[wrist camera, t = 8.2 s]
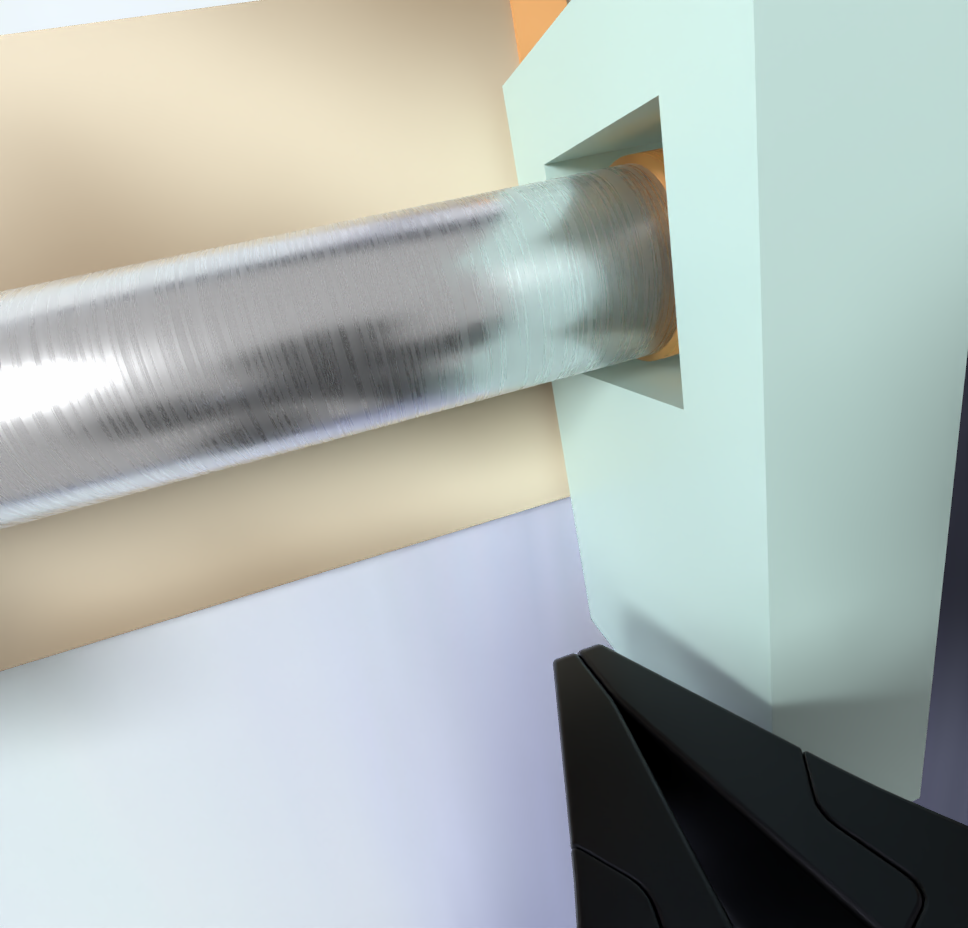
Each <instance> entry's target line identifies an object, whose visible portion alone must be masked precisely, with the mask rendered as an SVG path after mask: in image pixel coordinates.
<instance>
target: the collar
mask: <svg viewBox="0 0 968 928" xmlns="http://www.w3.org/2000/svg"><path fill="white" fill-rule="evenodd" d="M502 88H503V94H504V100H505V106H506V112H507V118H508V124H509V130H510V136H511V142H512V148H513V154H514V160H515V166H516V172H517V178H518V184H519V186H520V185H525V184H529V183H534V182H539V181H544V180H549V179H554V178H559V177H564V176H569V175H574V174H579V173H583V172H588V171H593V170H598V169H603V168H608V167H609V166H610V165H611V164H612V163H613V162H614V161H616V160H617V159H619V158H620V157H622V156H626V155H629V154H634V153H639V152H644V151H649V150H654V149H659V148H663V156H664V168H665V181H666V193H667V206H668V218H669V231H670V243H671V256H672V268H673V280H674V293H675V305H676V318H677V330H678V343H679V354H678V355H674V356H670V357H667V358H663V359H659V360H656V361H642V360H639V359H633V360H629V361H625V362H622V363H618V364H614V365H610V366H607V367H603V368H599V369H596V370H592V371H588V372H584V373H581V374H577V375H573V376H570V377H566V378H562V379H558V380H555V381H551V382H552V388H553V394H554V400H555V406H556V412H557V418H558V424H559V430H560V436H561V442H562V448H563V454H564V460H565V466H566V472H567V478H568V484H569V490H570V496H571V502H572V508H573V514H574V520H575V526H576V532H577V538H578V544H579V550H580V556H581V562H582V568H583V574H584V580H585V586H586V592H587V598H588V604H589V610H590V616H591V620H592V621H593V622H594V624H595V625H596V626H597V628H598V629H599V630H600V631H601V633H602V634H603V635H604V637H605V638H606V639H607V641H608V642H609V643H610V645H611V646H612V647H613V649H614V650H615V651H616V652H617V653H619V654H621V655H623V656H625V657H627V658H629V659H630V660H632V661H634V662H636V663H638V664H640V665H642V666H644V667H646V668H648V669H650V670H652V671H654V672H655V673H657V674H659V675H661V676H663V677H665V678H667V679H669V680H671V681H673V682H675V683H677V684H679V685H681V686H682V687H684V688H686V689H688V690H690V691H692V692H694V693H696V694H698V695H700V696H702V697H704V698H706V699H707V700H709V701H711V702H713V703H715V704H717V705H719V706H721V707H723V708H725V709H727V710H729V711H731V712H733V713H734V714H736V715H738V716H740V717H742V718H744V719H746V720H748V721H750V722H752V723H754V724H756V725H758V726H760V727H761V728H763V729H765V730H767V731H769V732H771V733H773V734H775V735H777V736H779V737H781V738H783V739H785V740H786V741H788V742H790V743H792V744H794V745H796V746H798V747H800V748H801V750H802V753H803V752H804V751H808V752H810V753H812V754H814V755H816V756H818V757H820V758H822V759H824V760H825V761H827V762H829V763H831V764H833V765H835V766H837V767H839V768H841V769H843V770H845V771H847V772H849V773H851V774H853V775H855V776H857V777H859V778H862V779H864V780H866V781H868V782H870V783H872V784H874V785H876V786H878V787H880V788H882V789H884V790H887V791H889V792H891V793H893V794H896V795H898V796H900V797H902V798H904V799H907V800H909V801H911V802H912V801H914V800H916V799H918V798H920V790H921V781H922V772H923V762H924V753H925V744H926V734H927V725H928V716H929V706H930V697H931V688H932V678H933V669H934V660H935V650H936V641H937V632H938V623H939V613H940V604H941V595H942V585H943V576H944V567H945V557H946V548H947V539H948V529H949V520H950V511H951V501H952V492H953V483H954V473H955V464H956V455H957V446H958V436H959V427H960V418H961V408H962V399H963V390H964V380H965V371H966V362H967V352H968V0H571V1H570V2H569V3H568V5H567V6H566V7H565V8H564V10H563V11H562V12H561V13H560V15H559V16H558V17H557V18H556V20H555V21H554V22H553V23H552V25H551V26H550V27H549V28H548V30H547V31H546V32H545V33H544V35H543V36H542V37H541V38H540V40H539V41H538V42H537V43H536V45H535V46H534V47H533V48H532V50H531V51H530V52H529V53H528V55H527V56H526V57H525V58H524V60H523V61H522V62H521V63H520V65H519V66H518V67H517V68H516V70H515V71H514V72H513V73H512V75H511V76H510V77H509V78H508V80H507V81H506V82H505V83H504V85H503V86H502Z"/></svg>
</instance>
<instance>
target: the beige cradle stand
mask: <svg viewBox="0 0 968 928" xmlns="http://www.w3.org/2000/svg"><path fill="white" fill-rule="evenodd" d="M570 1H571V0H259V1H252V2H244V3H237V4H229V5H222V6H215V7H207V8H200V9H192V10H185V11H177V12H170V13H162V14H155V15H148V16H140V17H133V18H125V19H118V20H110V21H103V22H96V23H88V24H81V25H73V26H66V27H58V28H51V29H43V30H36V31H29V32H21V33H14V34H6V35H0V291H5V290H10V289H15V288H20V287H25V286H29V285H34V284H39V283H44V282H49V281H54V280H59V279H64V278H69V277H74V276H78V275H83V274H88V273H93V272H98V271H103V270H108V269H113V268H118V267H123V266H127V265H132V264H137V263H142V262H147V261H152V260H157V259H162V258H167V257H172V256H177V255H181V254H186V253H191V252H196V251H201V250H206V249H211V248H216V247H221V246H226V245H230V244H235V243H240V242H245V241H250V240H255V239H260V238H265V237H270V236H275V235H279V234H284V233H289V232H294V231H299V230H304V229H309V228H314V227H319V226H324V225H328V224H333V223H338V222H343V221H348V220H353V219H358V218H363V217H368V216H373V215H378V214H382V213H387V212H392V211H397V210H402V209H407V208H412V207H417V206H422V205H427V204H431V203H436V202H441V201H446V200H451V199H456V198H461V197H466V196H471V195H476V194H480V193H485V192H490V191H495V190H500V189H505V188H510V187H515V186H519V184H518V178H517V172H516V166H515V160H514V154H513V148H512V142H511V136H510V130H509V124H508V118H507V112H506V106H505V100H504V94H503V88H502V86H503V85H504V83H505V82H506V81H507V80H508V78H509V77H510V76H511V75H512V73H513V72H514V71H515V70H516V68H517V67H518V66H519V65H520V63H521V62H522V61H523V60H524V58H525V57H526V56H527V55H528V53H529V52H530V51H531V50H532V48H533V47H534V46H535V45H536V43H537V42H538V41H539V40H540V38H541V37H542V36H543V35H544V33H545V32H546V31H547V30H548V28H549V27H550V26H551V25H552V23H553V22H554V21H555V20H556V18H557V17H558V16H559V15H560V13H561V12H562V11H563V10H564V8H565V7H566V6H567V5H568V3H569V2H570ZM569 496H570V490H569V484H568V478H567V472H566V466H565V460H564V454H563V448H562V442H561V436H560V430H559V424H558V418H557V412H556V406H555V400H554V394H553V388H552V382H547V383H543V384H540V385H536V386H532V387H529V388H525V389H521V390H517V391H514V392H510V393H506V394H503V395H499V396H495V397H491V398H488V399H484V400H480V401H476V402H473V403H469V404H465V405H462V406H458V407H454V408H450V409H447V410H443V411H439V412H436V413H432V414H428V415H424V416H421V417H417V418H413V419H409V420H406V421H402V422H398V423H395V424H391V425H387V426H383V427H380V428H376V429H372V430H368V431H365V432H361V433H357V434H354V435H350V436H346V437H342V438H339V439H335V440H331V441H328V442H324V443H320V444H316V445H313V446H309V447H305V448H301V449H298V450H294V451H290V452H287V453H283V454H279V455H275V456H272V457H268V458H264V459H261V460H257V461H253V462H249V463H246V464H242V465H238V466H234V467H231V468H227V469H223V470H220V471H216V472H212V473H208V474H205V475H201V476H197V477H194V478H190V479H186V480H182V481H179V482H175V483H171V484H167V485H164V486H160V487H156V488H153V489H149V490H145V491H141V492H138V493H134V494H130V495H127V496H123V497H119V498H115V499H112V500H108V501H104V502H100V503H97V504H93V505H89V506H86V507H82V508H78V509H74V510H71V511H67V512H63V513H59V514H56V515H52V516H48V517H45V518H41V519H37V520H33V521H30V522H26V523H22V524H19V525H15V526H11V527H7V528H4V529H0V671H3V670H6V669H10V668H13V667H16V666H19V665H23V664H26V663H29V662H32V661H36V660H39V659H42V658H45V657H49V656H52V655H55V654H58V653H62V652H65V651H68V650H71V649H75V648H78V647H81V646H84V645H88V644H91V643H94V642H97V641H101V640H104V639H107V638H110V637H114V636H117V635H120V634H123V633H127V632H130V631H133V630H136V629H140V628H143V627H146V626H150V625H153V624H156V623H159V622H163V621H166V620H169V619H172V618H176V617H179V616H182V615H185V614H189V613H192V612H195V611H198V610H202V609H205V608H208V607H211V606H215V605H218V604H221V603H224V602H228V601H231V600H234V599H237V598H241V597H244V596H247V595H250V594H254V593H257V592H260V591H263V590H267V589H270V588H273V587H276V586H280V585H283V584H286V583H290V582H293V581H296V580H299V579H303V578H306V577H309V576H312V575H316V574H319V573H322V572H325V571H329V570H332V569H335V568H338V567H342V566H345V565H348V564H351V563H355V562H358V561H361V560H364V559H368V558H371V557H374V556H377V555H381V554H384V553H387V552H390V551H394V550H397V549H400V548H403V547H407V546H410V545H413V544H416V543H420V542H423V541H426V540H430V539H433V538H436V537H439V536H443V535H446V534H449V533H452V532H456V531H459V530H462V529H465V528H469V527H472V526H475V525H478V524H482V523H485V522H488V521H491V520H495V519H498V518H501V517H504V516H508V515H511V514H514V513H517V512H521V511H524V510H527V509H530V508H534V507H537V506H540V505H543V504H547V503H550V502H553V501H556V500H560V499H563V498H566V497H569Z"/></svg>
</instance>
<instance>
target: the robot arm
mask: <svg viewBox="0 0 968 928" xmlns="http://www.w3.org/2000/svg"><path fill="white" fill-rule="evenodd" d="M553 669H554V679H555V689H556V699H557V710H558V720H559V730H560V741H561V751H562V761H563V771H564V782H565V792H566V802H567V812H568V823H569V833H570V843H571V849H572V852H571V857H572V867H573V877H574V891H575V907H576V923H577V928H968V826H966V825H964V824H962V823H959V822H957V821H955V820H952V819H950V818H948V817H945V816H943V815H941V814H938V813H936V812H934V811H931V810H929V809H927V808H925V807H922V806H920V805H918V804H916V803H913V802H911V801H909V800H907V799H904V798H902V797H900V796H898V795H896V794H893V793H891V792H889V791H887V790H884V789H882V788H880V787H878V786H876V785H874V784H872V783H870V782H868V781H866V780H864V779H862V778H859V777H857V776H855V775H853V774H851V773H849V772H847V771H845V770H843V769H841V768H839V767H837V766H835V765H833V764H831V763H829V762H827V761H825V760H824V759H822V758H820V757H818V756H816V755H814V754H812V753H810V752H808V751H804V752H803V753H802V750H801V748H800V747H798V746H796V745H794V744H792V743H790V742H788V741H786V740H785V739H783V738H781V737H779V736H777V735H775V734H773V733H771V732H769V731H767V730H765V729H763V728H761V727H760V726H758V725H756V724H754V723H752V722H750V721H748V720H746V719H744V718H742V717H740V716H738V715H736V714H734V713H733V712H731V711H729V710H727V709H725V708H723V707H721V706H719V705H717V704H715V703H713V702H711V701H709V700H707V699H706V698H704V697H702V696H700V695H698V694H696V693H694V692H692V691H690V690H688V689H686V688H684V687H682V686H681V685H679V684H677V683H675V682H673V681H671V680H669V679H667V678H665V677H663V676H661V675H659V674H657V673H655V672H654V671H652V670H650V669H648V668H646V667H644V666H642V665H640V664H638V663H636V662H634V661H632V660H630V659H629V658H627V657H625V656H623V655H621V654H619V653H617V652H615V651H613V650H611V649H609V648H607V647H605V646H603V645H600V644H598V645H594V646H592V647H589V648H586V649H583V650H581V651H579V653H578V654H574V653H572V654H569V655H566V656H564V657H561V658H558V659H556V660H554V662H553Z"/></svg>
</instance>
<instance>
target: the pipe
mask: <svg viewBox="0 0 968 928" xmlns="http://www.w3.org/2000/svg"><path fill="white" fill-rule="evenodd" d="M678 354H679V343H678V330H677V318H676V305H675V293H674V280H673V268H672V256H671V243H670V231H669V218H668V206H667V193H666V181H665V168H664V156H663V148H659V149H654V150H649V151H644V152H639V153H634V154H629V155H626V156H622V157H620V158H619V159H617V160H616V161H614V162H613V163H612V164H611V165H610V166H609V167H608V168H603V169H598V170H593V171H588V172H583V173H579V174H574V175H569V176H564V177H559V178H554V179H549V180H544V181H539V182H534V183H529V184H525V185H520V186H515V187H510V188H505V189H500V190H495V191H490V192H485V193H480V194H476V195H471V196H466V197H461V198H456V199H451V200H446V201H441V202H436V203H431V204H427V205H422V206H417V207H412V208H407V209H402V210H397V211H392V212H387V213H382V214H378V215H373V216H368V217H363V218H358V219H353V220H348V221H343V222H338V223H333V224H328V225H324V226H319V227H314V228H309V229H304V230H299V231H294V232H289V233H284V234H279V235H275V236H270V237H265V238H260V239H255V240H250V241H245V242H240V243H235V244H230V245H226V246H221V247H216V248H211V249H206V250H201V251H196V252H191V253H186V254H181V255H177V256H172V257H167V258H162V259H157V260H152V261H147V262H142V263H137V264H132V265H127V266H123V267H118V268H113V269H108V270H103V271H98V272H93V273H88V274H83V275H78V276H74V277H69V278H64V279H59V280H54V281H49V282H44V283H39V284H34V285H29V286H25V287H20V288H15V289H10V290H5V291H0V529H4V528H7V527H11V526H15V525H19V524H22V523H26V522H30V521H33V520H37V519H41V518H45V517H48V516H52V515H56V514H59V513H63V512H67V511H71V510H74V509H78V508H82V507H86V506H89V505H93V504H97V503H100V502H104V501H108V500H112V499H115V498H119V497H123V496H127V495H130V494H134V493H138V492H141V491H145V490H149V489H153V488H156V487H160V486H164V485H167V484H171V483H175V482H179V481H182V480H186V479H190V478H194V477H197V476H201V475H205V474H208V473H212V472H216V471H220V470H223V469H227V468H231V467H234V466H238V465H242V464H246V463H249V462H253V461H257V460H261V459H264V458H268V457H272V456H275V455H279V454H283V453H287V452H290V451H294V450H298V449H301V448H305V447H309V446H313V445H316V444H320V443H324V442H328V441H331V440H335V439H339V438H342V437H346V436H350V435H354V434H357V433H361V432H365V431H368V430H372V429H376V428H380V427H383V426H387V425H391V424H395V423H398V422H402V421H406V420H409V419H413V418H417V417H421V416H424V415H428V414H432V413H436V412H439V411H443V410H447V409H450V408H454V407H458V406H462V405H465V404H469V403H473V402H476V401H480V400H484V399H488V398H491V397H495V396H499V395H503V394H506V393H510V392H514V391H517V390H521V389H525V388H529V387H532V386H536V385H540V384H543V383H547V382H551V381H555V380H558V379H562V378H566V377H570V376H573V375H577V374H581V373H584V372H588V371H592V370H596V369H599V368H603V367H607V366H610V365H614V364H618V363H622V362H625V361H629V360H633V359H639V360H642V361H656V360H659V359H663V358H667V357H670V356H674V355H678Z"/></svg>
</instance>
